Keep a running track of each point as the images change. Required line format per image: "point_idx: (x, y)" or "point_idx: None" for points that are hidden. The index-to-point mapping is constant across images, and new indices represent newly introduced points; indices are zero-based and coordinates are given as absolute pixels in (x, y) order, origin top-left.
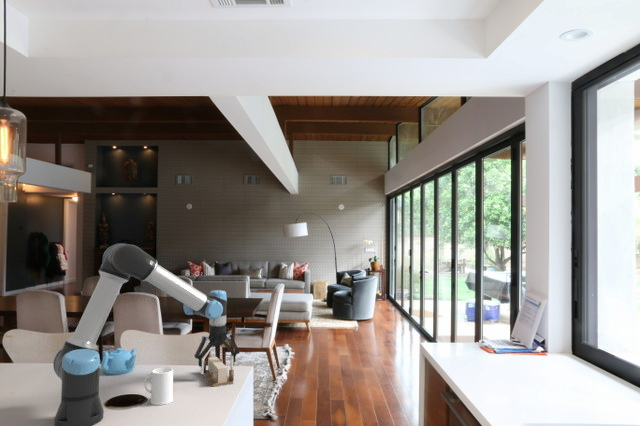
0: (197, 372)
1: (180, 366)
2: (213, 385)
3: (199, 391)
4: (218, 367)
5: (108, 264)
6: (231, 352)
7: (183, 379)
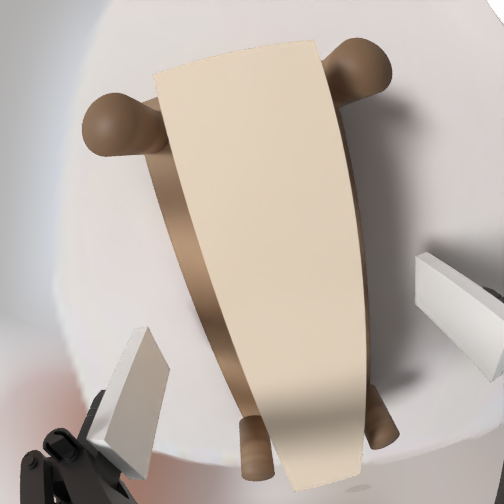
0: (384, 397)
1: (416, 444)
2: None
3: (400, 16)
4: (312, 117)
5: None
6: (99, 486)
7: None
